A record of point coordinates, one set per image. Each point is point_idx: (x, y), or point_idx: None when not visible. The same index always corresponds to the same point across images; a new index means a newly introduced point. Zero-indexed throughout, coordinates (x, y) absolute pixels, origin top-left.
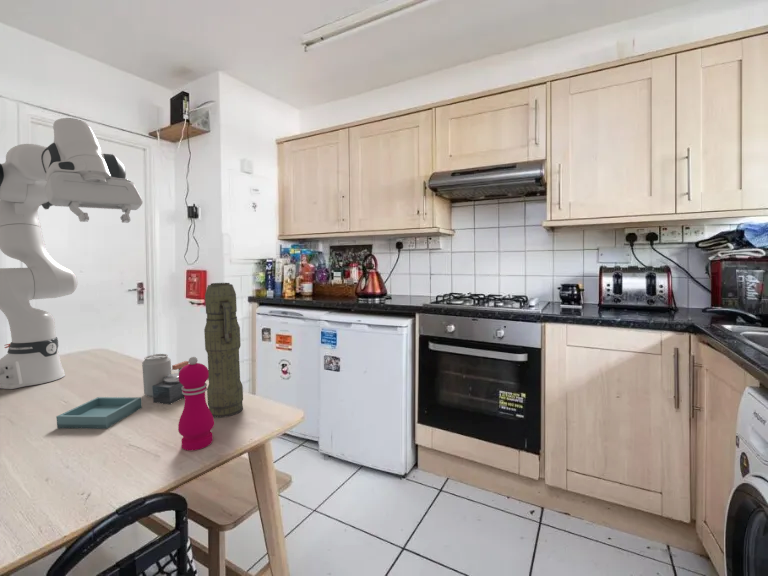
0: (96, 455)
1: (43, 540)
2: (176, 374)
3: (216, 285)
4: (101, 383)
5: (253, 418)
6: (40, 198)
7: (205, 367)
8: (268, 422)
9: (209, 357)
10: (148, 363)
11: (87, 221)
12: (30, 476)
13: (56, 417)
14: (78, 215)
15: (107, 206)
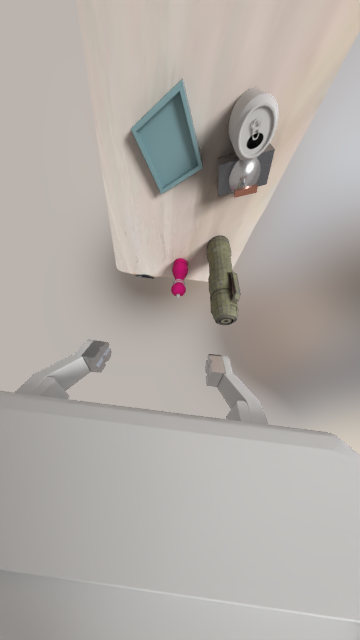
0: (146, 230)
1: (124, 270)
2: (250, 167)
3: (217, 321)
4: None
5: None
6: None
7: (182, 295)
8: None
9: (210, 272)
10: (235, 143)
11: (108, 343)
12: (118, 221)
13: (131, 129)
14: (76, 357)
15: (178, 427)
